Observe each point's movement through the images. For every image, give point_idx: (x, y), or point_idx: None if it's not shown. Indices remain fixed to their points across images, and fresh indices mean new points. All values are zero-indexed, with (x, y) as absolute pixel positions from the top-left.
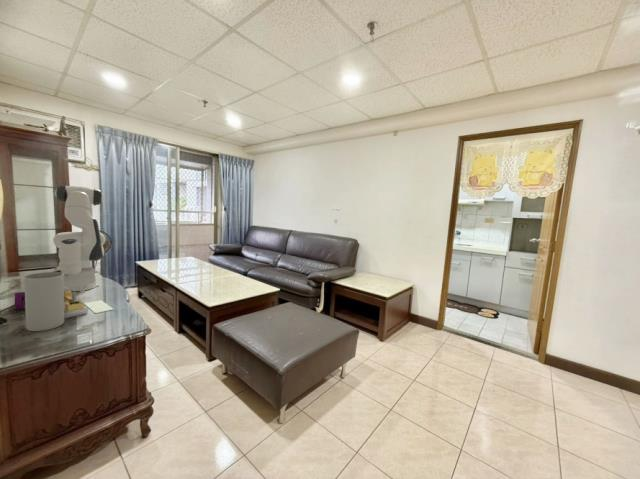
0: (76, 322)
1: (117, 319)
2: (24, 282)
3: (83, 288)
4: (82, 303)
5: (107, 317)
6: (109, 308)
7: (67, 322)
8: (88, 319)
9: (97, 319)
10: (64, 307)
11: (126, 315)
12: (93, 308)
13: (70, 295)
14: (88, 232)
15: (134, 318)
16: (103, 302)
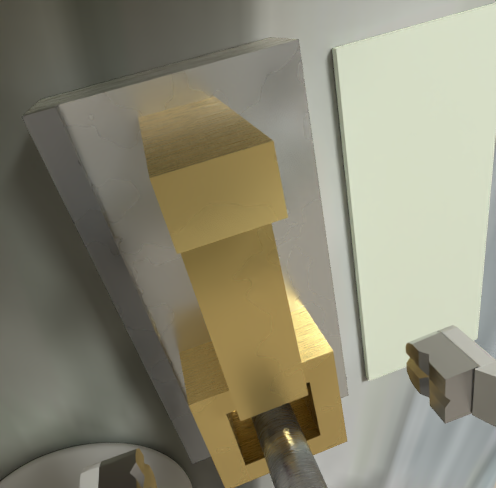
0: (254, 483)
1: (430, 478)
2: None
3: (492, 406)
4: (338, 440)
5: (402, 447)
6: (463, 319)
7: (207, 476)
8: (315, 455)
9: (355, 463)
10: (170, 329)
11: (481, 440)
12: (378, 277)
13: (250, 242)
14: None
15: (488, 479)
16: (490, 121)
